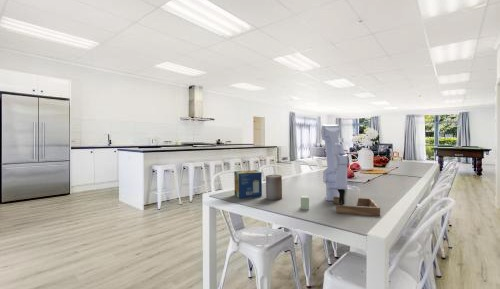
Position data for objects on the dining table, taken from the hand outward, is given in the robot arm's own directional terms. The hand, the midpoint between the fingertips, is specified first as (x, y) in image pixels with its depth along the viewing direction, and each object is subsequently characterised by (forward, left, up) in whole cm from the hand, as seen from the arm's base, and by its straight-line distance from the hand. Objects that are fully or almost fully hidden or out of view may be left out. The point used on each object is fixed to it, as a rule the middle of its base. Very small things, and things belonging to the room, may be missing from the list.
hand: (341, 203), depth 130 cm
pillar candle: (-12, -38, -2) cm, 39 cm away
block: (+6, -19, -2) cm, 20 cm away
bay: (+2, +6, -2) cm, 7 cm away
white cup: (-1, +4, -2) cm, 4 cm away
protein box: (-15, -55, -2) cm, 56 cm away
